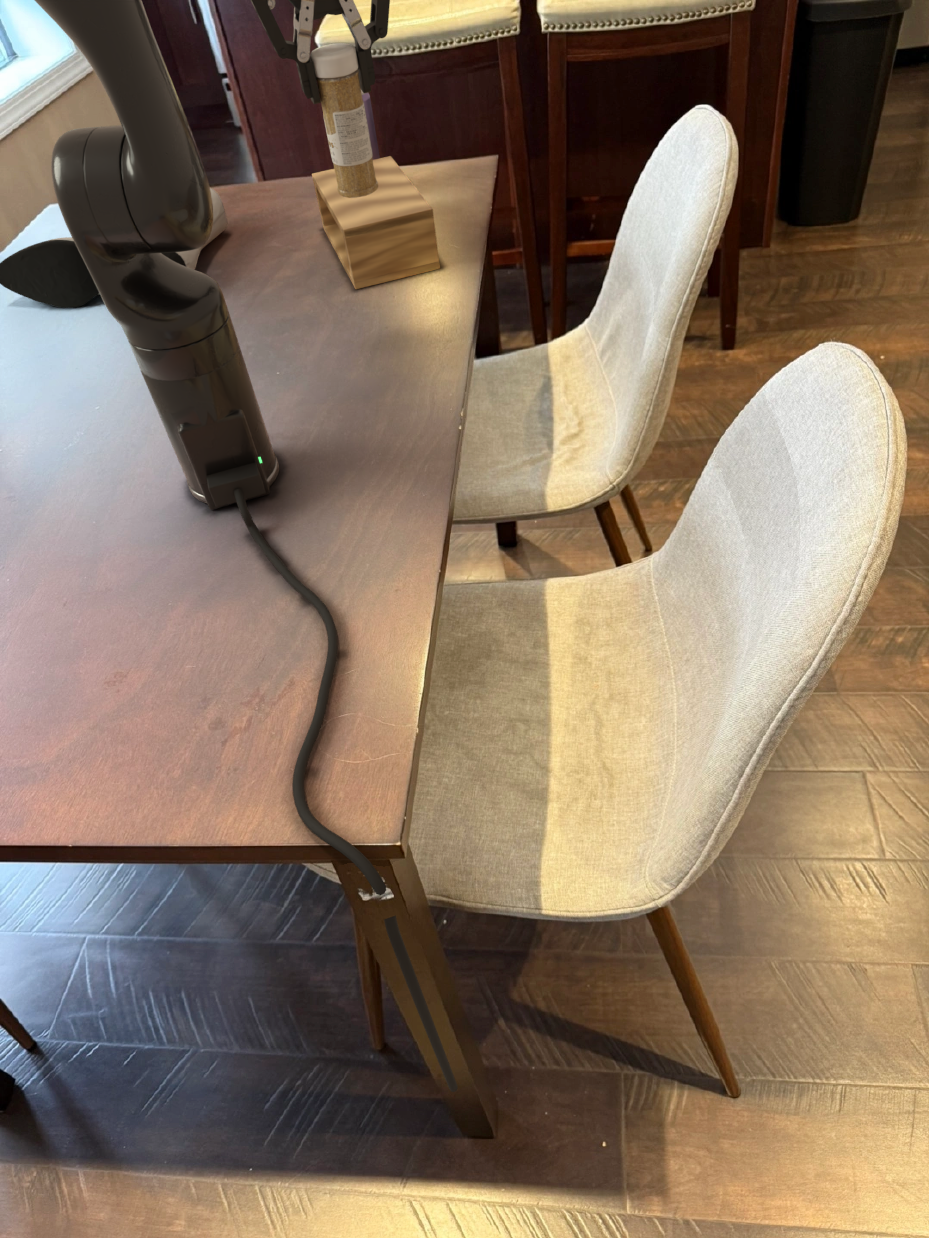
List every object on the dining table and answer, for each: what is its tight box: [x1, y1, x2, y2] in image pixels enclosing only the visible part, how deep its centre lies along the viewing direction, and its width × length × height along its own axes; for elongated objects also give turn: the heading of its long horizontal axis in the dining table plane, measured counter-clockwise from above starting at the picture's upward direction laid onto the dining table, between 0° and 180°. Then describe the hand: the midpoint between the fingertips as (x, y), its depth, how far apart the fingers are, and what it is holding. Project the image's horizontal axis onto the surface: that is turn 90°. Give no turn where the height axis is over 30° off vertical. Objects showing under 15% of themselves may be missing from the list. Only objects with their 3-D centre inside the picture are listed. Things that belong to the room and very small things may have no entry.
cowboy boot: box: [0, 187, 229, 309], centre depth 126 cm, size 10×28×25 cm
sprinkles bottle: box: [309, 42, 378, 198], centre depth 89 cm, size 5×5×14 cm
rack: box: [311, 155, 441, 290], centre depth 122 cm, size 22×12×8 cm, turn 18°
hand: (341, 95), depth 87 cm, fingers closed on sprinkles bottle, 4 cm apart
